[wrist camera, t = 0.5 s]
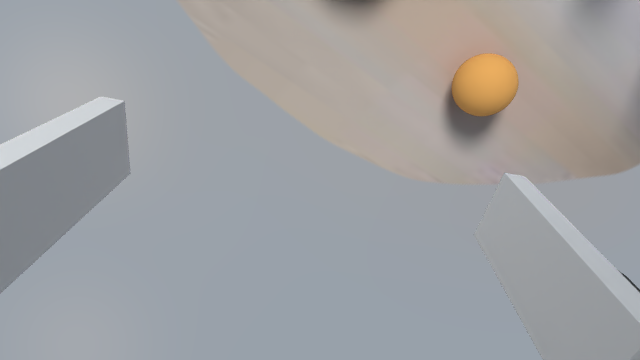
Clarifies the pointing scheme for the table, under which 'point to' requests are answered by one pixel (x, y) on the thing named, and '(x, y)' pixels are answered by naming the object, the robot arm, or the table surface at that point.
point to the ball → (485, 84)
